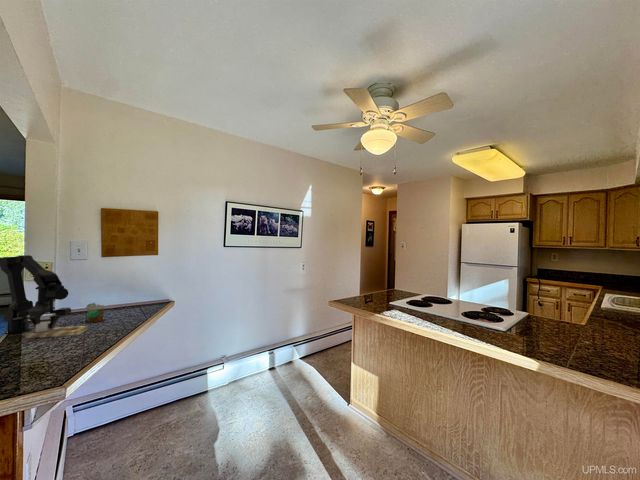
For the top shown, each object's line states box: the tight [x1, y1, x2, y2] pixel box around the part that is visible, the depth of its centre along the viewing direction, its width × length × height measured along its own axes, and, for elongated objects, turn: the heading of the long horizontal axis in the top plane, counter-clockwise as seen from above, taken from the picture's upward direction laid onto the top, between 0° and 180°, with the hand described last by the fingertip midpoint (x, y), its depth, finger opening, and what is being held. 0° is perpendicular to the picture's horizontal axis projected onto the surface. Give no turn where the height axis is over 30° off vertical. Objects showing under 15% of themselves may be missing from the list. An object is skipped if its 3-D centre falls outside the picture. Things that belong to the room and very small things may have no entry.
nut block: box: [35, 320, 54, 333], centre depth 134 cm, size 5×5×6 cm
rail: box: [24, 325, 89, 339], centre depth 136 cm, size 21×9×2 cm, turn 109°
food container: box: [85, 302, 105, 324], centre depth 158 cm, size 12×6×10 cm, turn 62°
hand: (44, 329), depth 134 cm, fingers open, 5 cm apart
